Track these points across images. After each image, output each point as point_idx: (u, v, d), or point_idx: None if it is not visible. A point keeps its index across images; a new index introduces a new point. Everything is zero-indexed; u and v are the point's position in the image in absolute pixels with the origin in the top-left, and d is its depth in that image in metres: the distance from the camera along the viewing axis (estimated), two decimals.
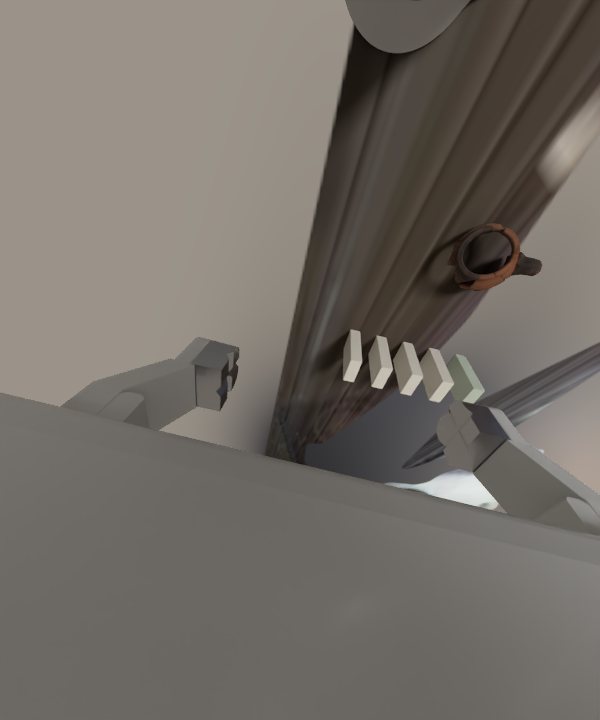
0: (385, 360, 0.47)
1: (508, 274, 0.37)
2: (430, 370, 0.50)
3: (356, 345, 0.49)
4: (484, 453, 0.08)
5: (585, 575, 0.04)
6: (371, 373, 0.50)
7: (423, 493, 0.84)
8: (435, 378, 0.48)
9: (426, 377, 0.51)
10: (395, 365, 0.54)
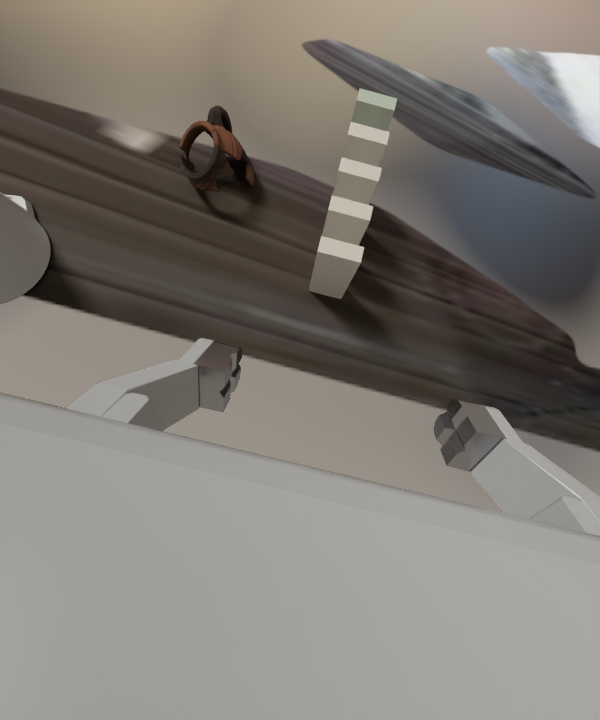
0: None
1: (219, 127, 0.36)
2: None
3: None
4: (481, 452, 0.08)
5: (585, 575, 0.04)
6: (358, 237, 0.33)
7: None
8: (354, 154, 0.34)
9: None
10: None
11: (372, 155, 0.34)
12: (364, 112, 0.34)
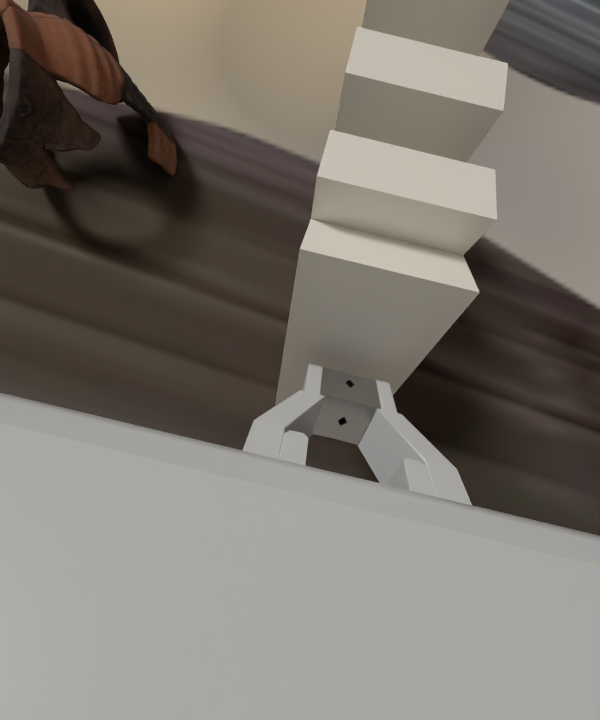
0: None
1: (51, 15, 0.13)
2: None
3: None
4: (362, 424, 0.08)
5: (585, 575, 0.04)
6: None
7: None
8: None
9: None
10: None
11: (450, 48, 0.11)
12: None
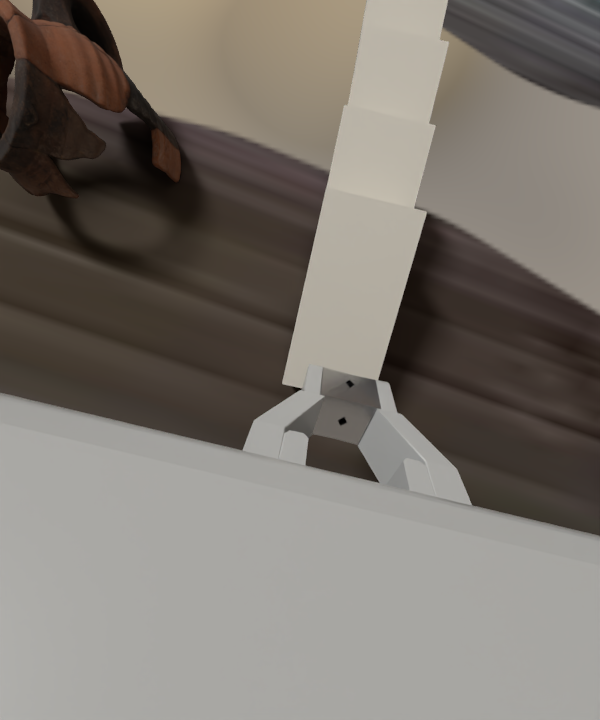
0: None
1: (56, 23, 0.13)
2: None
3: None
4: (362, 424, 0.08)
5: (585, 575, 0.04)
6: (410, 186, 0.14)
7: None
8: (390, 3, 0.16)
9: None
10: None
11: None
12: None
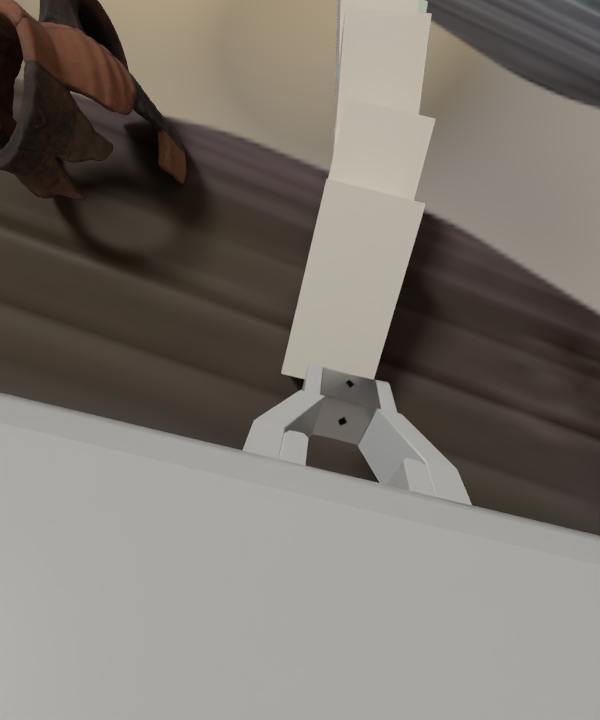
0: None
1: (63, 25, 0.13)
2: None
3: None
4: (362, 424, 0.08)
5: (585, 575, 0.04)
6: (410, 178, 0.14)
7: None
8: None
9: None
10: None
11: None
12: None
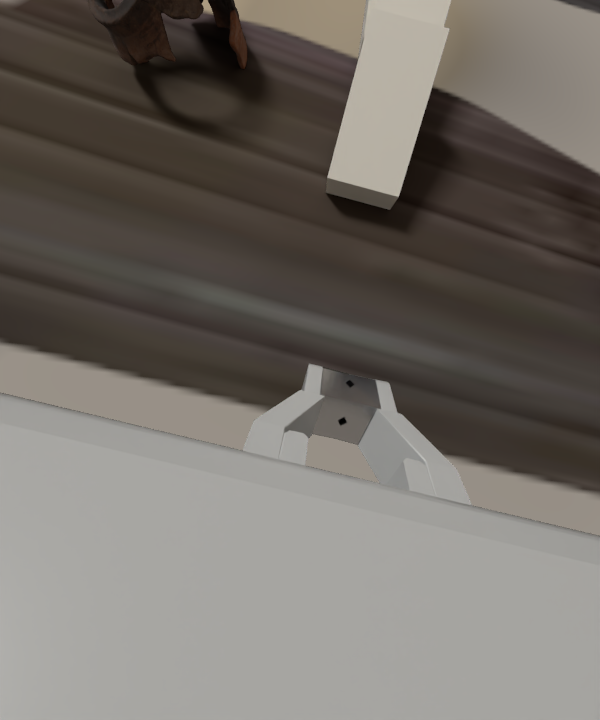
0: None
1: None
2: None
3: None
4: (362, 424, 0.08)
5: (585, 575, 0.04)
6: None
7: None
8: None
9: None
10: None
11: None
12: None
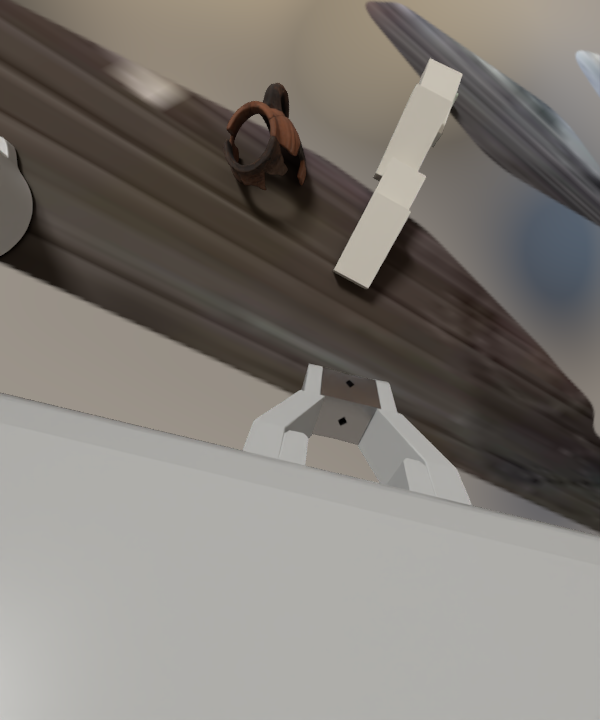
0: None
1: (278, 111, 0.30)
2: None
3: None
4: (362, 424, 0.08)
5: (585, 575, 0.04)
6: (410, 198, 0.33)
7: None
8: (435, 76, 0.35)
9: None
10: (415, 168, 0.34)
11: (451, 80, 0.35)
12: None
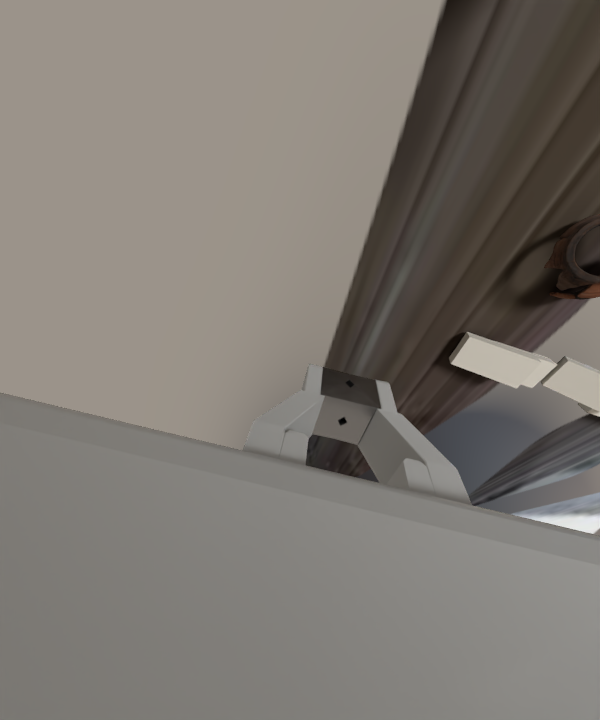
0: (541, 357, 0.40)
1: None
2: None
3: (504, 346, 0.38)
4: (362, 424, 0.08)
5: (585, 575, 0.04)
6: None
7: None
8: None
9: None
10: (561, 391, 0.40)
11: None
12: None
